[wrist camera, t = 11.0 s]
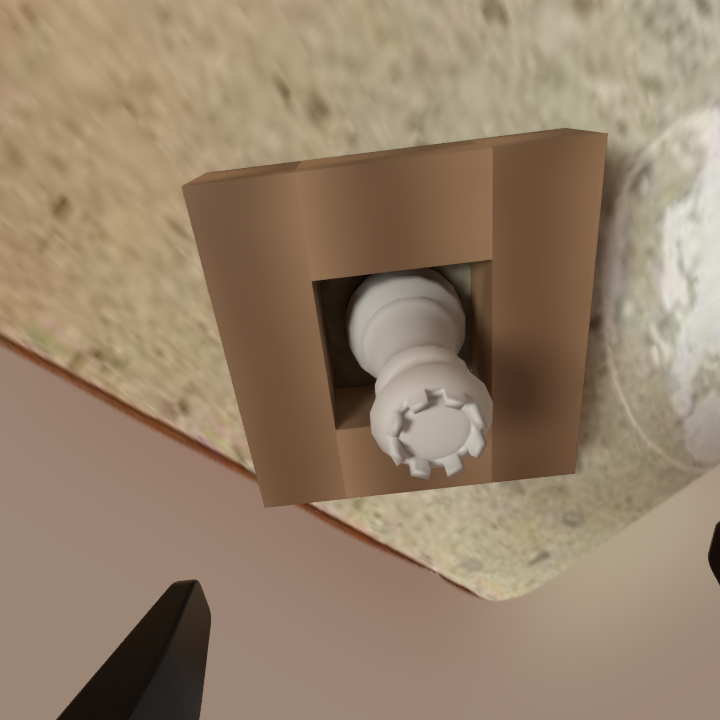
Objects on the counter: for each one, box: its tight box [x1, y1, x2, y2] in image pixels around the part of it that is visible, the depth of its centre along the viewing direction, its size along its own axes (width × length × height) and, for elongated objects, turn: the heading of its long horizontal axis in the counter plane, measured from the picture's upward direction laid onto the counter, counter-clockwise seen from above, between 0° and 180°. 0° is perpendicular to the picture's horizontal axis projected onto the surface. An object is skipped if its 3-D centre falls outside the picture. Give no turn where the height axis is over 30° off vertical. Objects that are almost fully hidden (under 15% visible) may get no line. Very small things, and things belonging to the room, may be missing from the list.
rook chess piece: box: [345, 268, 493, 480], centre depth 16 cm, size 4×4×8 cm
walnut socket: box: [182, 128, 608, 508], centre depth 19 cm, size 12×12×3 cm
